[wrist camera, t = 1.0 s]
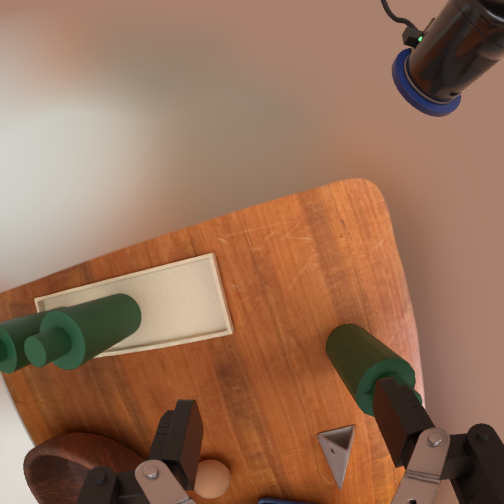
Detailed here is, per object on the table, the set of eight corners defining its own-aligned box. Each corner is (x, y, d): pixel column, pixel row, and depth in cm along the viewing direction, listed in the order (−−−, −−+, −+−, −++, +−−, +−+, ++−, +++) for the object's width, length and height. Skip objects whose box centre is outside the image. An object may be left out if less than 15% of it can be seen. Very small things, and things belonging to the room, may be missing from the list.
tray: (214, 252, 38) (211, 252, 36) (234, 329, 37) (232, 333, 35) (42, 297, 39) (34, 298, 37) (59, 358, 38) (52, 362, 36)
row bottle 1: (51, 303, 38) (-41, 324, 20) (81, 310, 38) (-12, 338, 20) (52, 339, 38) (-34, 373, 20) (81, 348, 38) (-4, 392, 20)
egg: (194, 473, 38) (184, 502, 31) (197, 448, 38) (186, 477, 31) (230, 480, 37) (225, 510, 30) (234, 455, 37) (230, 485, 30)
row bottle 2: (104, 290, 38) (10, 311, 20) (142, 296, 37) (58, 326, 19) (103, 331, 38) (16, 373, 20) (140, 339, 37) (63, 392, 19)
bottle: (329, 322, 37) (380, 375, 19) (371, 324, 37) (444, 373, 19) (322, 364, 37) (362, 441, 19) (363, 366, 37) (424, 435, 19)
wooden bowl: (97, 519, 38) (77, 549, 28) (31, 421, 39) (-2, 444, 28) (207, 521, 38) (198, 562, 27) (140, 410, 38) (111, 447, 28)
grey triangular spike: (373, 479, 36) (370, 430, 34) (353, 498, 34) (346, 452, 32) (348, 465, 41) (339, 415, 39) (327, 482, 39) (315, 434, 37)
